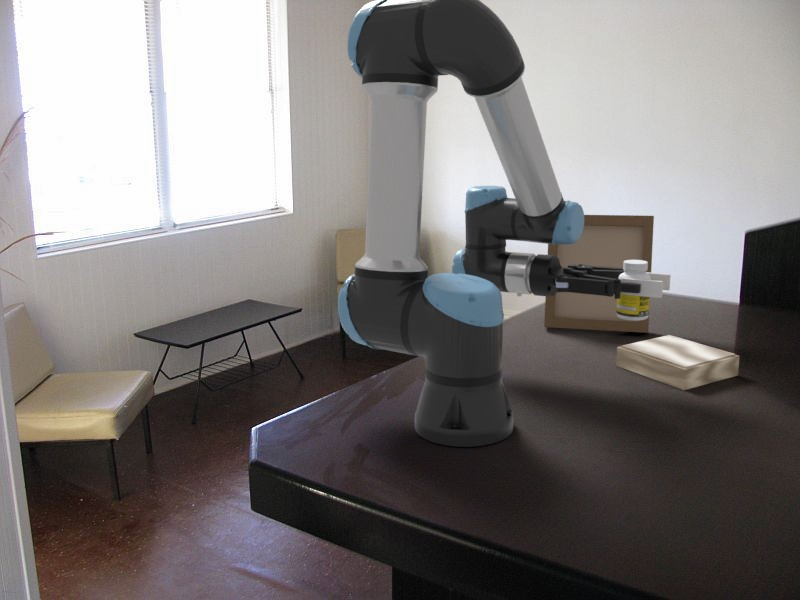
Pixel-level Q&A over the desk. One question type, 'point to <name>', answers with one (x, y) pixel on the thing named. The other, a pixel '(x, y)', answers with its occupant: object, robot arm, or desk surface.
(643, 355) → the pedestal
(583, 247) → the photo frame
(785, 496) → the desk surface
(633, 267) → the supplement bottle
